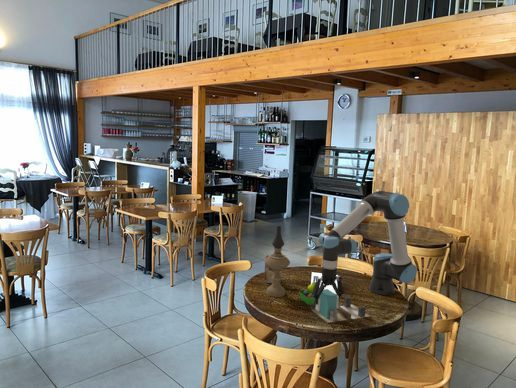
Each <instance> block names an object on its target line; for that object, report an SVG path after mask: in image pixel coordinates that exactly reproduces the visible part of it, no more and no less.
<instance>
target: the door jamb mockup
mask: <svg viewBox="0 0 516 388" xmlns="http://www.w3.org/2000/svg"><path fill="white" fill-rule="evenodd" d="M343 298H344V299H343V305H339V304H338V309H337V308H336V310H330V319H326V318H325V317H323V316H322V315H321V314H320V313H318V311H317V310H316V308H314V309H311V311H312V312H313V313H314V314H315V315H317V316H318V317H320V319H322V320H323V321H324V322H325V323H327V324H328V323H335V322H341V321H348V320H355V319H361V318H371V315H370V314H369V313H366V310H367V308H366V306H364V305H359V306H356V305H354V304H352V297H350V296H345V297H343Z"/></svg>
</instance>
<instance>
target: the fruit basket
mask: <svg viewBox="0 0 516 388" xmlns="http://www.w3.org/2000/svg"><path fill="white" fill-rule="evenodd" d="M315 283H316V281H313V282H312V283H311V284H309V285H308V286H307V289H301V290H300V289H299V291H298V292H299V296H300V300H301V301H302V302H304V304H306V305H308V306H309V305H316V304H315V298H314V297H313V296H312V292H313V289H314V286H315Z"/></svg>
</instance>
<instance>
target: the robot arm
mask: <svg viewBox="0 0 516 388" xmlns="http://www.w3.org/2000/svg"><path fill="white" fill-rule="evenodd" d="M409 209H410V201H409V199H408V197H407V196H405V195H404V194H402V193H399V192H391V191H385V190H378V191H375V192H372V193H370V194H368V195H367V196H366V197H364V198H363V199H362V200H361V201H360V202H359V205H358V206H356V207H354V209H353V210H352V211H350V213H349V214H348V215H347V216H345V217H344V218H343V219H342V220H341V221H339V222H338V223H337V224H336V225H335V226H334V227H333V228H332V229H331V230H330V231H328V232H322V233H320V235H319V236H318V243H319V244H320V246H322V262H321V266H322V267H321V277H316V278H315V282H316V283H315V286H314V289H313V292H312V296H313V297H314V298H315V304H314V305H315V309H316V310H317V311H320V298H319V297H320V295H321V293H322V292H323V290H324V289H326V287H328V286H332V289H333V290H334V292H335V294H336V295H337V302H336V308H337V309H338V305H339V302H340V301H341V297H342V295H344V294H345V292H344V288H343V281H342V276H340V275H337V273H338V260H339V256H341V255H350V254H353V253H356V251H357V250H358V243H357V241H356V240H355V239H354V238H345V237H346V236H347V235H348V234H349V233H351V231H353V230H354V229H355V228H356V227H357V226H358V225H359V224H361V223H362V221H364V220H365V219H366V218H367V217H368V216H369V215H373V214H374V213H376V212H382V213H383V218H384V219H385V220H386V221H387V226H388V234H389V235H388V236H389V242H390V250H391V253H386V252H385V253H383V252H381V253H376V254H375V255H374V260H373V267H372V268H373V269H372V278H371V281H370V283H369V286H368V289H369V290H368V291H370V292H371V293H373V294H377V295H382V296H391V295H393V294H395V293H396V292H395V291H396V289H395V285H394V281H393V280H395V281H398V282H400V283H402V284H410V283H412V282H413V281H414V280H415V279H416V277H417V273H418V268H417V266H416V265H415V264H414V263H412V258H411V257H410V256H409V254H408V253H409V252H408V247H407V246H408V245H407V237H406V231H405V222H404V219H405V217H406V216H407V214H408V212H409Z"/></svg>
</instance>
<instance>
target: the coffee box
mask: <svg viewBox="0 0 516 388" xmlns="http://www.w3.org/2000/svg"><path fill="white" fill-rule="evenodd" d="M269 255H270V254H269ZM269 255H268V254H267V255H266V256H265V258H264V260H265V259H266V258H267V257H268V256H269ZM279 274H280V275H281V271H280V272H279ZM273 275H274V270H273V269H272V268H270V267H268V266H267V265H266V264H265V263H264V278H263V279H264V280H263V281H264V283H268V284H272V279H271V277H272V276H273Z"/></svg>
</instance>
